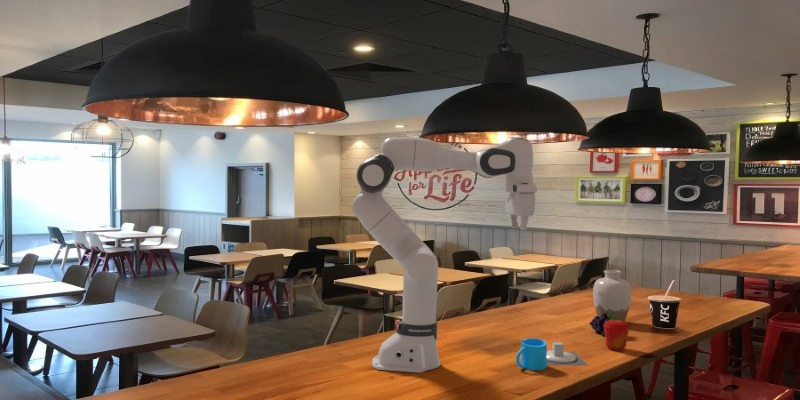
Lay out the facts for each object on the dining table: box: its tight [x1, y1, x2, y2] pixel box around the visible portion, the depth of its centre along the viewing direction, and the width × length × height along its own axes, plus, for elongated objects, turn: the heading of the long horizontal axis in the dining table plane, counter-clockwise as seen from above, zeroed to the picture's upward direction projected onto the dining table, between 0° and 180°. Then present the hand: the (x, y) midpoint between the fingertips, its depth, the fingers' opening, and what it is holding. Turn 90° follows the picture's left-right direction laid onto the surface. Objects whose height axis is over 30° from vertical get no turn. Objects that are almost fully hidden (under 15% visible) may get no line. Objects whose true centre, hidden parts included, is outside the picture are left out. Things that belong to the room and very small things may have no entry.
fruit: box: [589, 311, 619, 337], centre depth 247 cm, size 10×11×15 cm
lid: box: [547, 341, 576, 363], centre depth 211 cm, size 12×12×5 cm
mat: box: [547, 351, 588, 366], centre depth 211 cm, size 16×16×1 cm
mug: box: [515, 337, 548, 371], centre depth 199 cm, size 12×8×8 cm
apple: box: [604, 320, 630, 352], centre depth 225 cm, size 9×8×12 cm
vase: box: [592, 269, 632, 322], centre depth 268 cm, size 16×16×23 cm
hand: (518, 229), depth 202 cm, fingers open, 8 cm apart
